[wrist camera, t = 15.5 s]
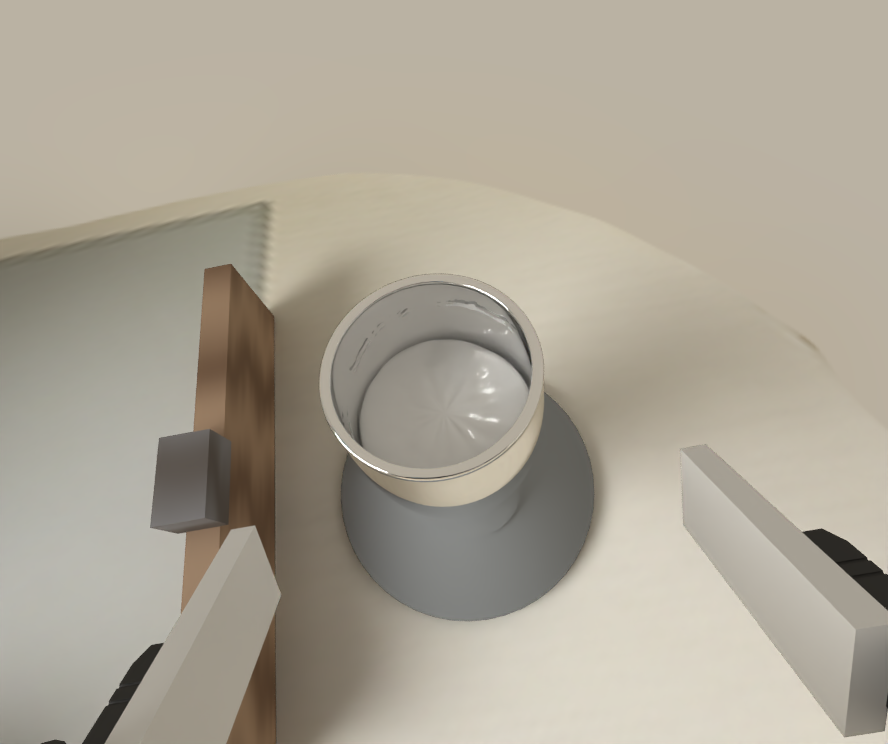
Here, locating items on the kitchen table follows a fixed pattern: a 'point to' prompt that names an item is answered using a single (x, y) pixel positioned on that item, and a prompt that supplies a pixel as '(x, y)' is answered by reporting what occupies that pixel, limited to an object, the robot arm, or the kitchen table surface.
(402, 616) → the kitchen table surface
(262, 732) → the board
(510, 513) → the beer glass
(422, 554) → the round pad
